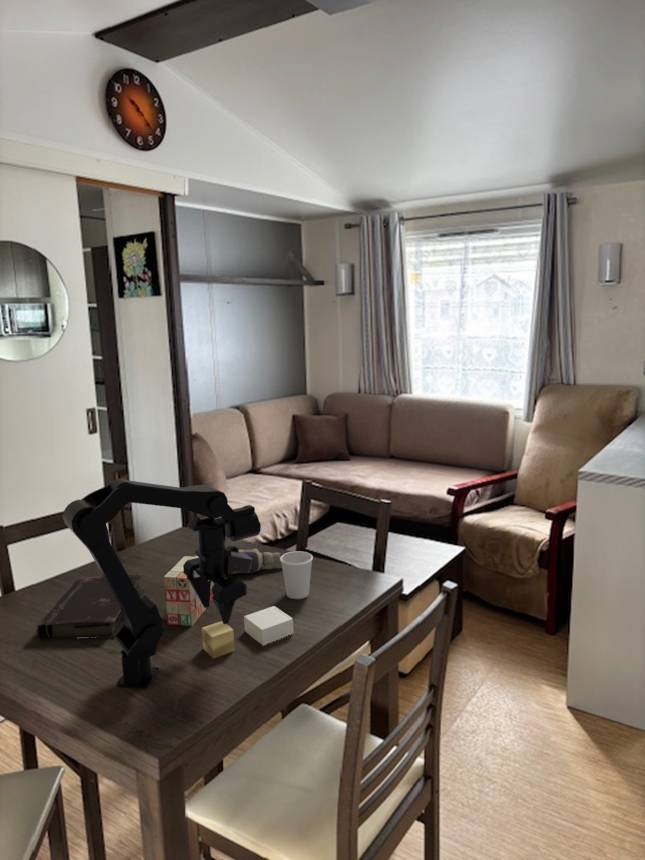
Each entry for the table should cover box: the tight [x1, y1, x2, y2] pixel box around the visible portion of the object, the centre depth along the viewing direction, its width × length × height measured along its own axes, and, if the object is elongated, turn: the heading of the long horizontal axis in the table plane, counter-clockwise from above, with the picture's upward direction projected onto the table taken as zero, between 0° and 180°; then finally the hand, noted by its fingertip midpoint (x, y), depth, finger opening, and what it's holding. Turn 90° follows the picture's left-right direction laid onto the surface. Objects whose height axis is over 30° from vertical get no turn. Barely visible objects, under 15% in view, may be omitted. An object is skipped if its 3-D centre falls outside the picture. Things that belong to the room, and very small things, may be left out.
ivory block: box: [243, 605, 295, 646], centre depth 144 cm, size 8×8×4 cm
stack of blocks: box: [163, 555, 215, 627], centre depth 158 cm, size 21×6×12 cm, turn 169°
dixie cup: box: [280, 550, 314, 600], centre depth 162 cm, size 8×8×10 cm
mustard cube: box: [201, 620, 235, 660], centre depth 137 cm, size 5×5×5 cm
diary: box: [36, 573, 145, 641], centre depth 155 cm, size 19×25×5 cm
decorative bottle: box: [193, 548, 285, 575], centre depth 177 cm, size 26×8×7 cm, turn 103°
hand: (216, 615), depth 136 cm, fingers open, 9 cm apart
